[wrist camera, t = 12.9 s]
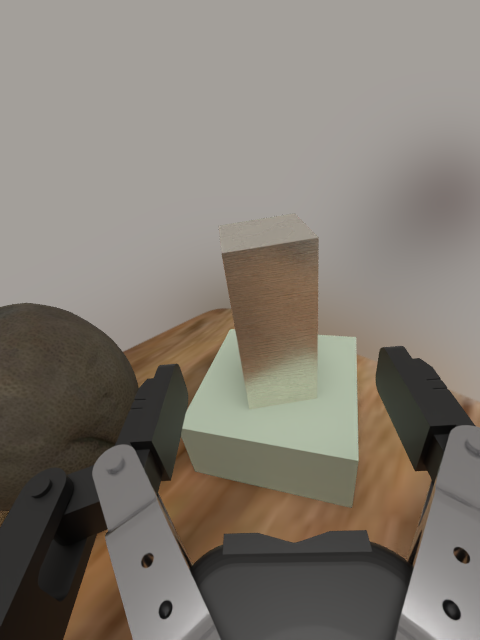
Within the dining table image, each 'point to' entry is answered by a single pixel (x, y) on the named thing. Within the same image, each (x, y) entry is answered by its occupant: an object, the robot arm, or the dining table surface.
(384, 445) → the dining table surface
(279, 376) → the tea tin
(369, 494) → the dining table surface
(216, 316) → the dining table surface
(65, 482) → the robot arm
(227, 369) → the green box
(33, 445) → the brown coconut
